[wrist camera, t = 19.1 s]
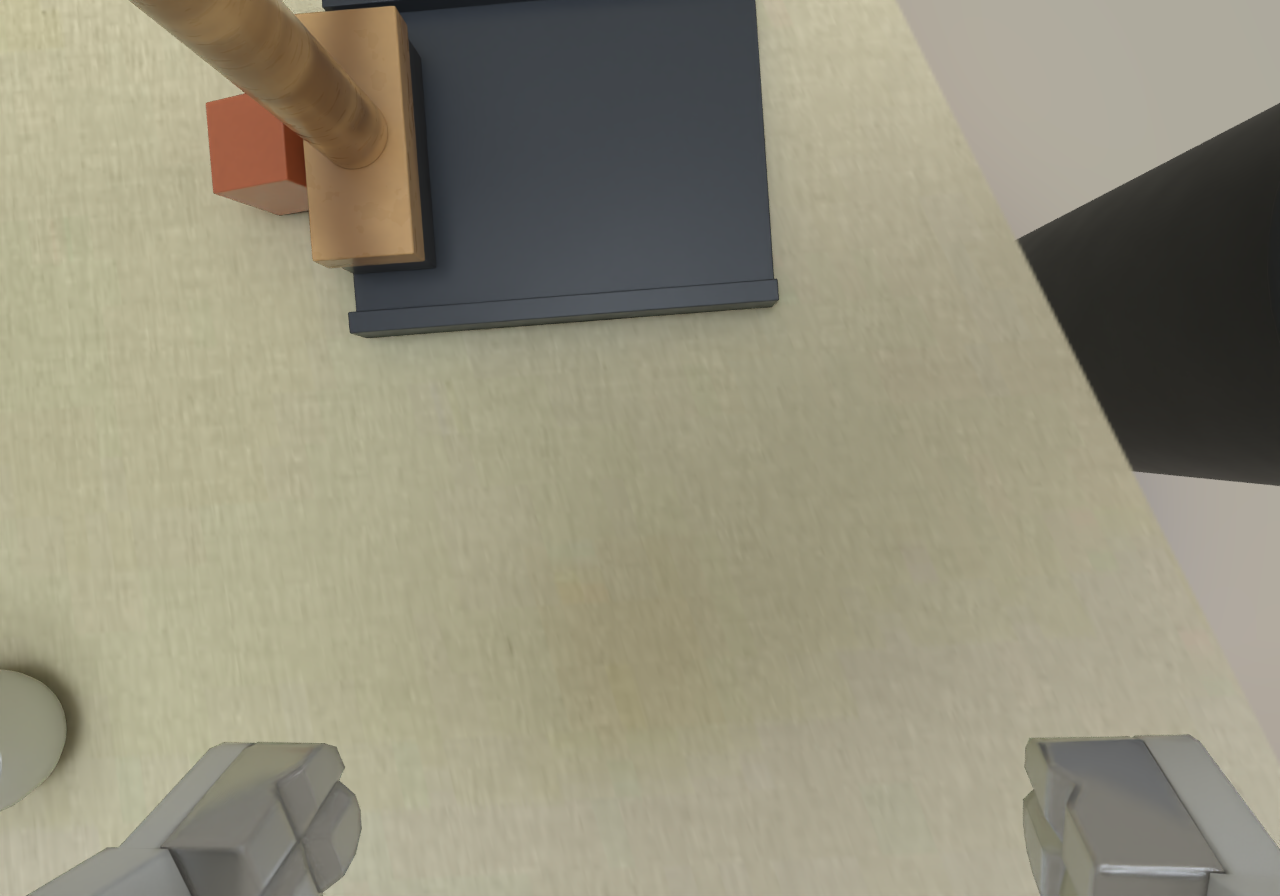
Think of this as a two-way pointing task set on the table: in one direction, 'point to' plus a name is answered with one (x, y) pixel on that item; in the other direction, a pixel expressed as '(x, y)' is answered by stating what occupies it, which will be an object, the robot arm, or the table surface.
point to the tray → (582, 164)
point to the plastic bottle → (27, 735)
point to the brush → (332, 116)
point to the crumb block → (255, 156)
